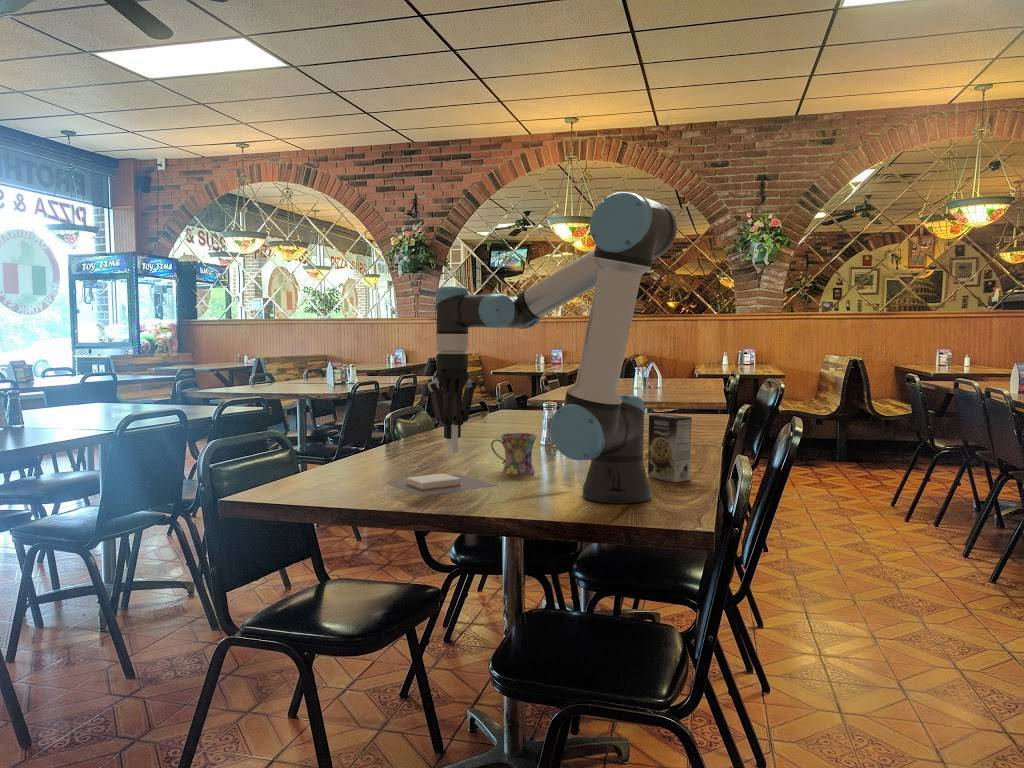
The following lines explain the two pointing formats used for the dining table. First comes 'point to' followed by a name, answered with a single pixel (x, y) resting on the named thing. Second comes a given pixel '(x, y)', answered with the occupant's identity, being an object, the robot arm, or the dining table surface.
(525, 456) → the mug
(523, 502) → the dining table surface
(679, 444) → the cookie box
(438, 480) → the tile
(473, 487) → the slate board
